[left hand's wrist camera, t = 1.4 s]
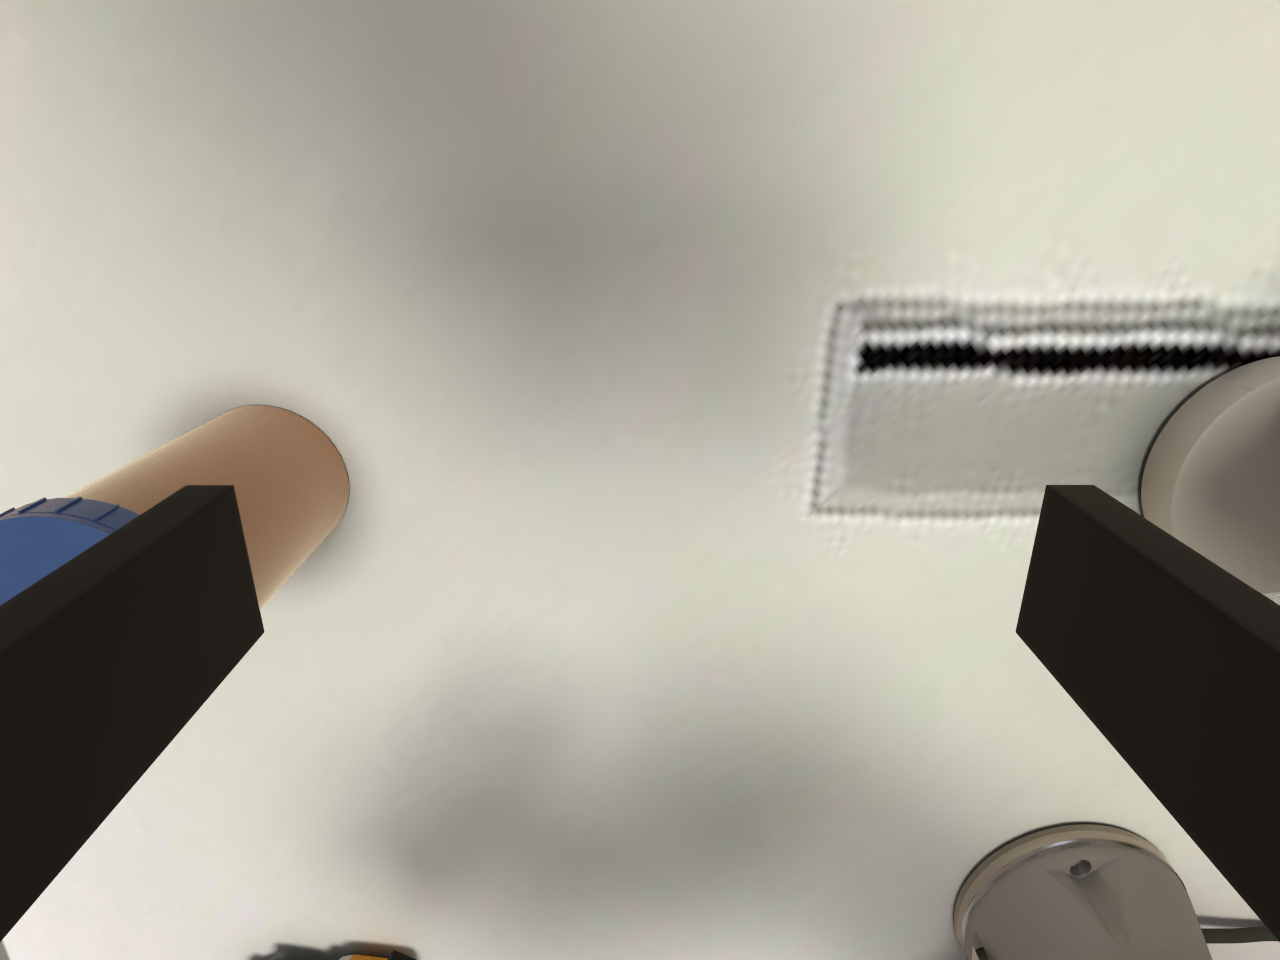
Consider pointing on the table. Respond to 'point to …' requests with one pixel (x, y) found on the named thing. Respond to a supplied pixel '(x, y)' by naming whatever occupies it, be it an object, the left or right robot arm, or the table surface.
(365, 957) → the spray gun
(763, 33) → the table surface
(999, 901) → the right robot arm
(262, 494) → the jar
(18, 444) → the table surface
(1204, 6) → the table surface
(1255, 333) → the table surface
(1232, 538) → the bust sculpture
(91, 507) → the lid
